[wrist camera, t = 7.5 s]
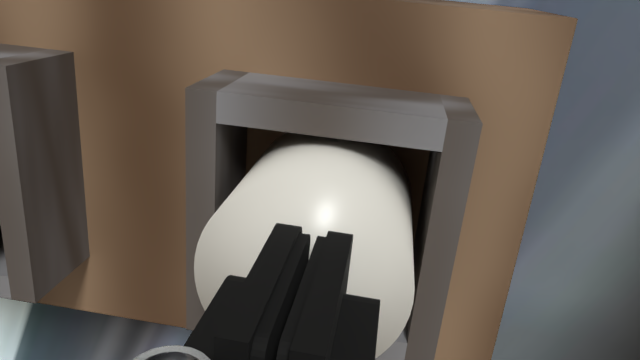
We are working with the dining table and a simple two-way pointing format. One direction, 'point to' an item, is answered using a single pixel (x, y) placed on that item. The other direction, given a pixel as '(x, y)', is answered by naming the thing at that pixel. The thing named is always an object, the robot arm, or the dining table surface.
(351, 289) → the knob
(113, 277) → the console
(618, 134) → the dining table surface
